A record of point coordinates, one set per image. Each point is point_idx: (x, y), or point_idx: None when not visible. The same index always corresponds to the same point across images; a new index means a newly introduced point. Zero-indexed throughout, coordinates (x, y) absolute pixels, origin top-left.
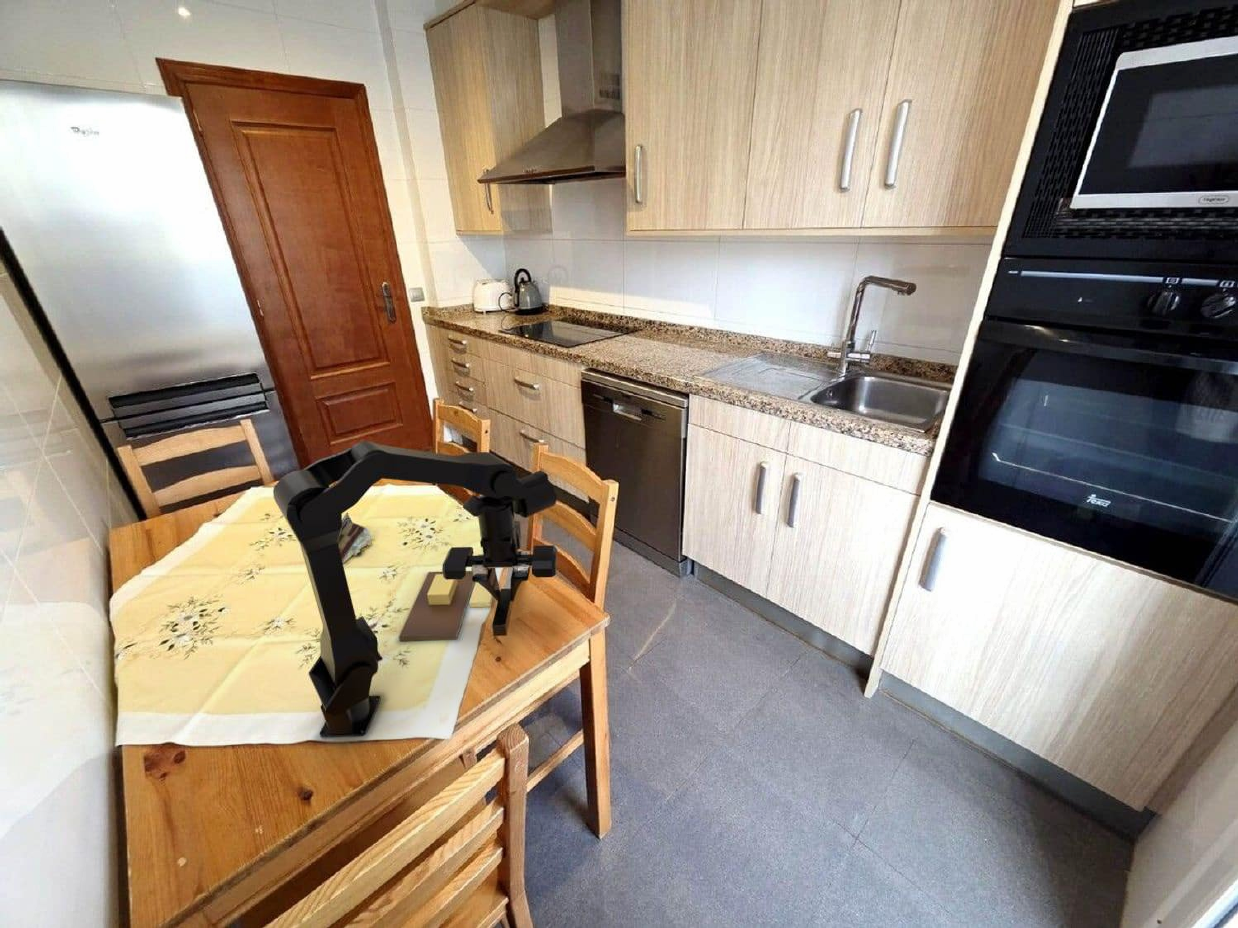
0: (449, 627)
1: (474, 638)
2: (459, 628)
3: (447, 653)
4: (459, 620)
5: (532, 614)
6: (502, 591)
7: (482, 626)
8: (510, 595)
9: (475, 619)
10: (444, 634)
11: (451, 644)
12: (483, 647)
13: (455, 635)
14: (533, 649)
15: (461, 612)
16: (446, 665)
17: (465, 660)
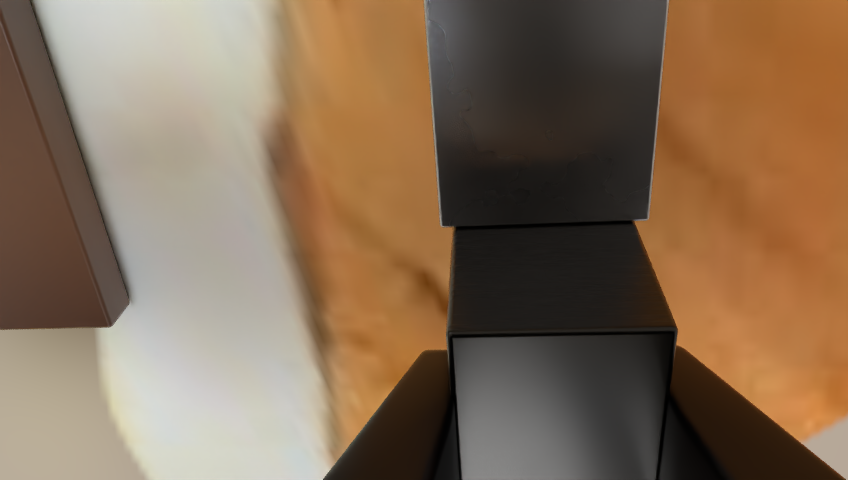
0: (11, 253)
1: (263, 293)
2: (95, 219)
3: (135, 404)
4: (47, 174)
5: (748, 8)
6: (493, 396)
7: (278, 174)
8: (645, 472)
9: (178, 91)
10: (18, 319)
11: (120, 340)
12: (362, 366)
13: (109, 324)
14: (742, 388)
15: (3, 70)
16: (179, 477)
17: (279, 451)
